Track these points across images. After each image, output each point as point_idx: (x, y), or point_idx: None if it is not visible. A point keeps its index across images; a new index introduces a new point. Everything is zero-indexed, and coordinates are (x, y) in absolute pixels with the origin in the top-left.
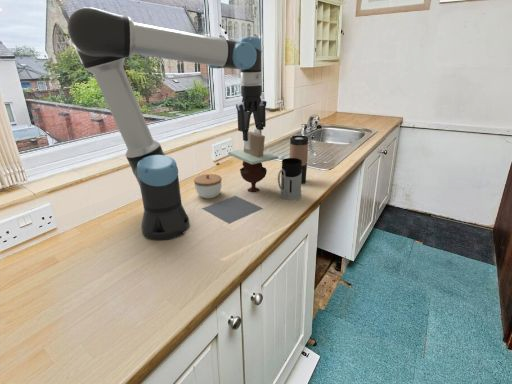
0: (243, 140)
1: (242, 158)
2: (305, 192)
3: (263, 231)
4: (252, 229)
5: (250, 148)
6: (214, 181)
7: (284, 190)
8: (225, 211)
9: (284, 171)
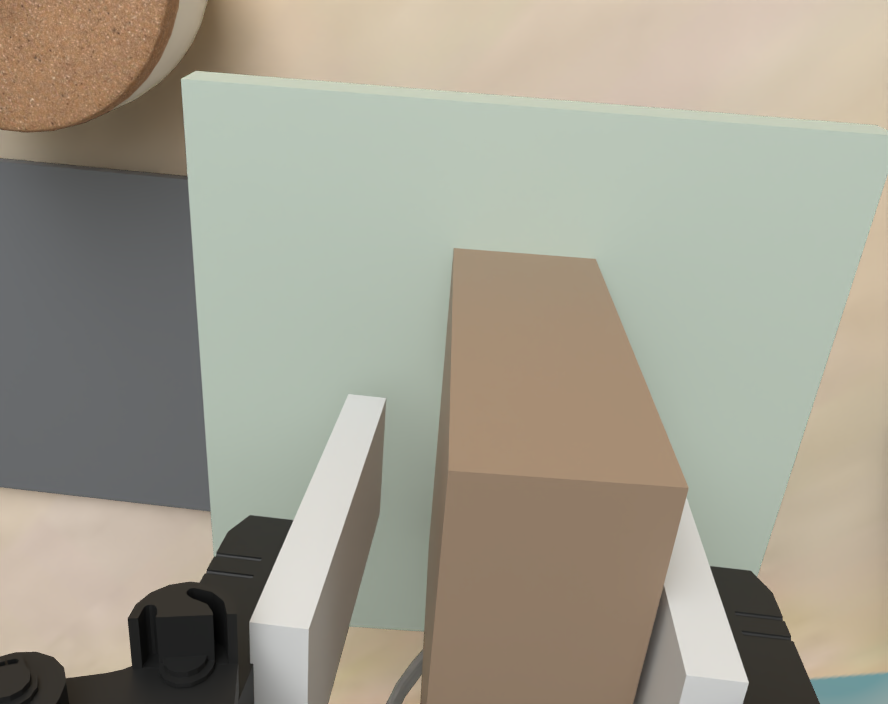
0: (246, 520)
1: (207, 447)
2: (769, 583)
3: (98, 659)
4: (62, 605)
5: (376, 522)
6: (4, 108)
7: None
8: (39, 345)
9: None
